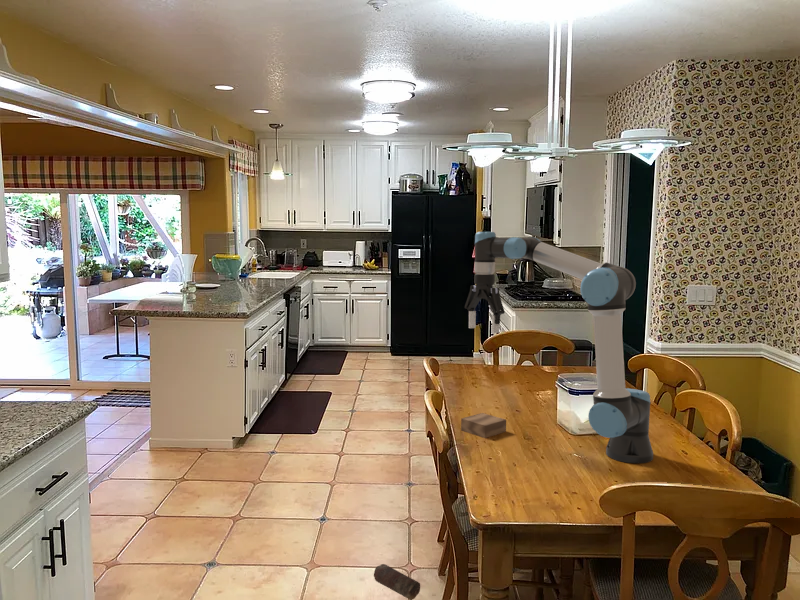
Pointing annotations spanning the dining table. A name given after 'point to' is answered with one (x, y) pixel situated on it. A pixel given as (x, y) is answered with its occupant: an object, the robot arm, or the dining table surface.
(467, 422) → the walnut block
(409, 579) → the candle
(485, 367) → the dining table surface
